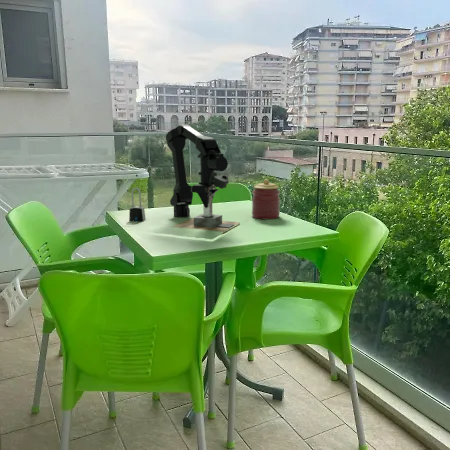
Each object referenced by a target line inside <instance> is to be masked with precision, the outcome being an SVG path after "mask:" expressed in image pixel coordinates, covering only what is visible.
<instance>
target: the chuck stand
mask: <svg viewBox="0 0 450 450" xmlns="http://www.w3.org/2000/svg"><path fill="white" fill-rule="evenodd" d="M238 226H241V222H240V221H228V220H223V215H222V214H214V213H212V216H211V217H204V213H201V214H199V215H196V216H194V217H193V218H190V219H187V220H185V221H182V222H180V223H178V224H175V225H173V226H172V227H174V228H181V229H193V230H202V231H211V232H212V231H214V232H222V233H221V234H222V235H224V234H226V233H228V232H229V231H232V230H233V229H235V228H237V227H238Z"/></svg>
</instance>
